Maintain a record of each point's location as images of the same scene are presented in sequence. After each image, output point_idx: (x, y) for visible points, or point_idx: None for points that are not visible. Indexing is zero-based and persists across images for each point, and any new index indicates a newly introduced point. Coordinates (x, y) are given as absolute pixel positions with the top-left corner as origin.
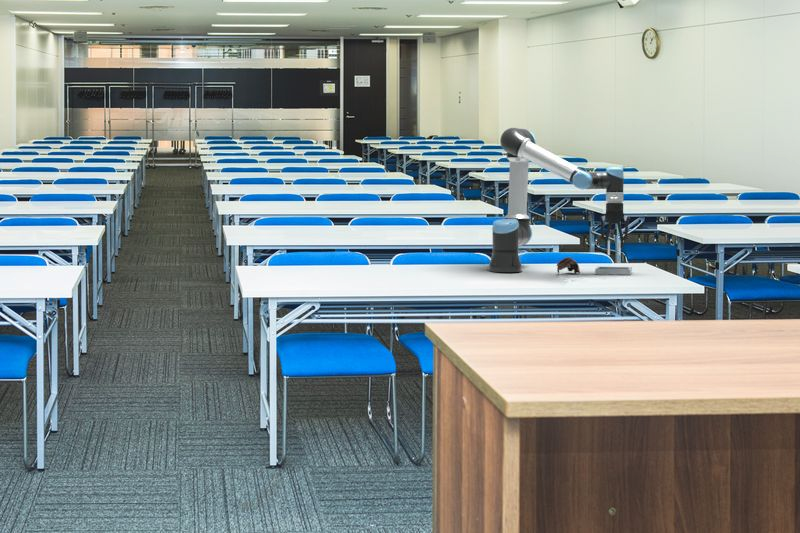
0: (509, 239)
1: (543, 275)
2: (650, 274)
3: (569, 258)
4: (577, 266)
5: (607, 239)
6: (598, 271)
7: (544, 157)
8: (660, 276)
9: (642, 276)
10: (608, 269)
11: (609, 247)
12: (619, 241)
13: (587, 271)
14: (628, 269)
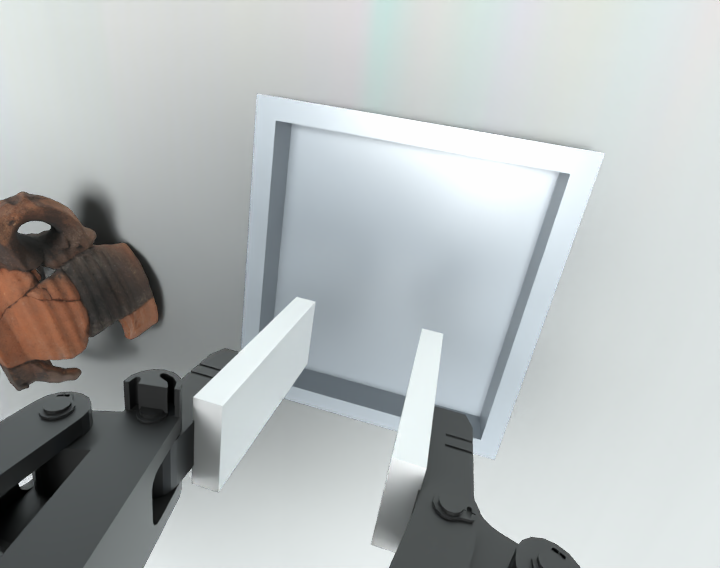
0: None
1: (3, 391)
2: (711, 345)
3: (6, 374)
4: (108, 316)
5: (173, 492)
6: None
7: None
8: (712, 523)
9: (562, 507)
10: (330, 411)
11: (269, 414)
12: (387, 536)
13: (193, 10)
14: (484, 440)
